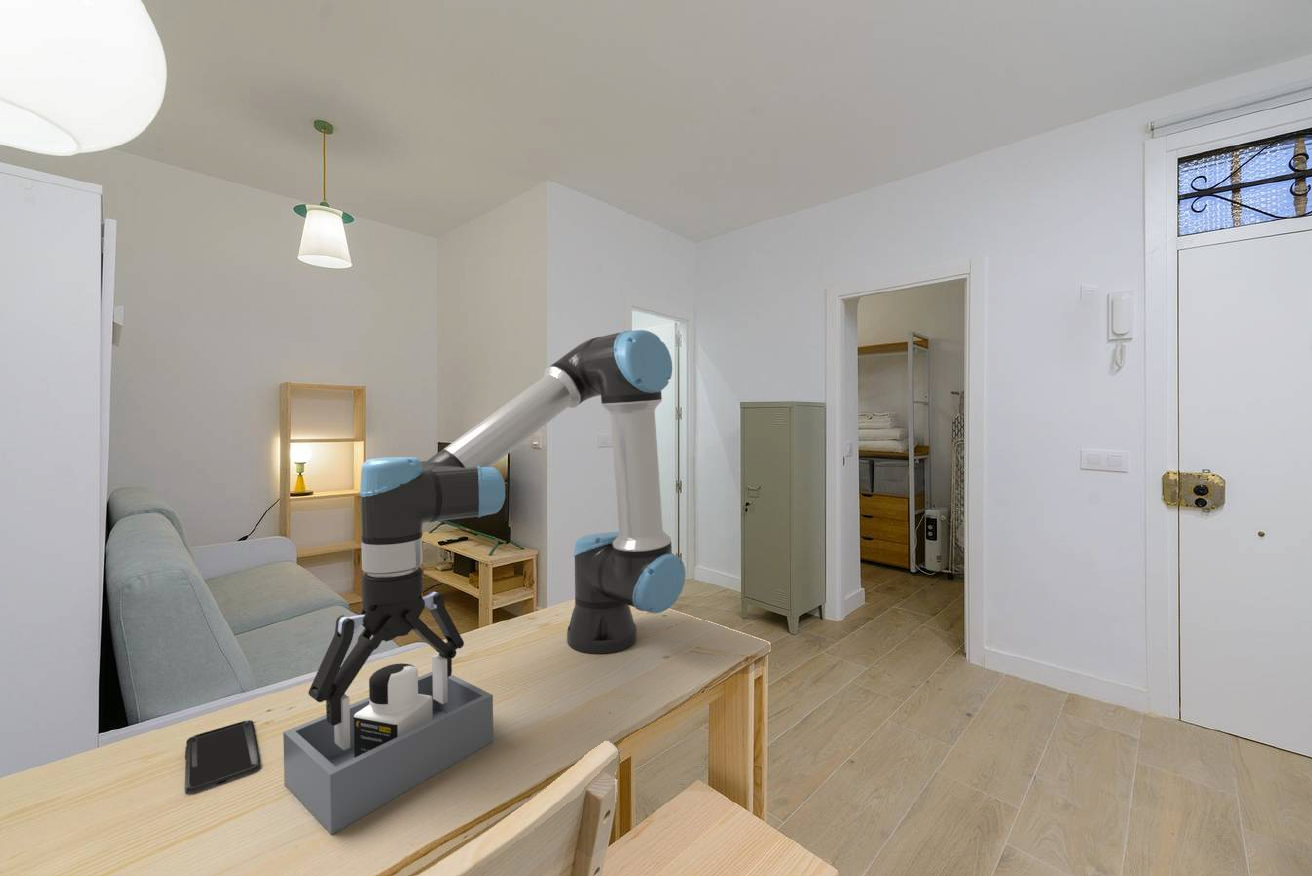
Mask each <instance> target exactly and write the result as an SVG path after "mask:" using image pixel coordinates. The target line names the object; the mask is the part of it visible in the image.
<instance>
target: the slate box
mask: <svg viewBox="0 0 1312 876" xmlns="http://www.w3.org/2000/svg"><path fill="white" fill-rule="evenodd" d="M418 694H423V695H430V696H432V710H433V720H432V721H430V722H428V723H425V724H423V725H421V726H419V727H417V728H415V729H413V730H411V731H409V732H407V733H405V734H403V735H401V736H399V737H397V738H395V739H392V740H390V741H388V742H386V743H384V744H382V745H380V746H378V747H376V748H374V749H372V750H370V751H368V752H366V753H364V754H362V755H359V756H357V757H355V758H354V715H355V714H356V713H357V712H359V711H360V710H362V709H363V708H365V707H366V706H368V705H369V697H367V698H364V699H362V700H360V701H356V702H354V703H351V704H350V748H348V749H346V750H343V749H341V748H340V747H339V746H338V745H337V744H335V740H334V726H332V725H331V724H330V723H329V722H328V721H327V719H326V715H327V714H324V715H321V716H319V717H317V718H315V719H312V720H310V721H307V722H305V723H302V724H300V725H297V726H295V727H293V728H290V729H287V730H285V731H283V734H282V735H283V737H282V739H283V778H284V779H283V780H284V786H285V787H286V789H288V790H289V791H290V792H291V794H292V795H293V796H294V797H295V798H296V799H297V800H298V802H300V803H301V804H302V806H303V807H304V808H305V809H306V810H307V811H308V812H309V813H310V814H311V815H312V816H313V817H314V818H315V819H316V820H317V822H318V823H319V824H320V825H321V826H322V827H323V828H324V829H325V830H326V831H327V832H328V833H329V834H330V835H331V836H332V835H334V834H335V833H337V832H339V831H341V830H342V829H344V828H345V827H347V826H349V825H351V824H352V823H354V822H356V821H358V820H360V819H361V818H364V817H365V816H367V815H368V814H369V813H371V812H373V811H375V810H376V809H379V808H381V807H382V806H384V805H385V804H387V803H389V802H391V801H393V800H394V799H396V798H397V797H400V796H401V795H403V794H405V793H406V792H408V791H410V790H411V789H413V788H415V787H417V786H419V785H420V784H423V783H424V782H425V781H427V780H429V779H431V778H432V777H434V776H436V775H437V774H440V773H441V772H442V771H444V770H447V769H449V768H450V767H451V766H453V765H455V764H457V763H459V762H460V761H462V760H463V759H466V758H467V757H469V756H470V755H473V754H474V753H476V752H478V751H479V750H481V749H483V748H484V747H487V746H488V745H490V744H492V743H493V742H494V695H493V694H492V693H489V692H487V691H486V690H484V689H481V688H480V687H478V686H475V685H474V684H473V683H472V684H471V683H470V682H468V681H466V680H464V679H461V678H460V677H458V676H455V675H454V674H452V673H451V676H449V677H447V694H448V702H447V703H445V704H441V703H440V702H438V701H436V700H434V699H433V671H429V672H427V673H426V674H423V675H420V676H418Z"/></svg>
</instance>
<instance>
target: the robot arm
mask: <svg viewBox="0 0 1312 876" xmlns="http://www.w3.org/2000/svg"><path fill="white" fill-rule="evenodd" d="M671 357H672V356H671V353H670V351H669V348H668V347H667V345H666V344H665V342H664V341H662V340H661V339H660V337H659V336H658V335H657V334H655V333H654V332H652V331H650V330H645V329H643V330H642V329H637V330H630V329H629V330H624V331H621V332H616V333H612V334H608V335H607V334H606V335H602V336H597V337H593V338H590V339H588V340H586V341H584V342H582V343H580V344H578V345H577V346H576V347H574V348H573V349H571V350H570V351H569V352H567V353H565V355H563V356H562V357H560V358H559V359H558V360H556V361H554V363H552V364H551V365H550V366H548V367H547V368H546V369H545V370H544V373H543V374H544V375H543V377H542V378H540V379H539V380H538V381H536V382H535V383H533V384H532V385H531V386H529V387H528V388H527V389H525V390H524V391H522V392H521V393H519V394H518V395H516V396H515V397H513V398H512V399H511V400H510V401H508V402H507V403H505V404H504V405H503V406H501V407H500V408H499V409H497V410H496V411H494V412H493V413H492V414H490V415H489V416H487V417H486V418H485V419H484V420H482V421H480V423H478V424H476V425H475V426H473V427H472V428H471V429H469V430H468V431H467V432H465V433H463V434H462V435H461V436H460V437H458V438H457V439H456V440H454V441H453V442H451V443H450V444H448V445H447V446H446V447H445V448H443V449H441V450H440V451H439V452H437V453H436V454H434V455H432V457H430V458H429V459H427V460H424V461H421V460H420V459H419V458H418V457H414V456H413V457H412V456H411V457H410V456H401V457H400V456H397V457H394V456H393V457H387V456H386V457H376V458H369V459H367V460H365V461H364V463H363V464H362V466H361V473H360V487H359V489H360V490H359V496H360V516H361V517H360V520H361V523H360V524H361V542H360V543H361V547H360V548H361V570H362V571H363V572H364V574H363V575H362V576H361V599H362V600H361V601H362V609H361V612H360V614H359V615H353V616H347V615H346V616H345V615H339V616H338V617H337V618H336V620H335V628H334V629H335V631H334V634H333V637H332V640H331V642H330V643H329V646H328V648H327V650H326V652H325V655H324V657H323V659H322V661H321V663H320V666H319V667H318V670H317V671H316V674H315V677H314V679H313V681H312V683H311V685H310V687H309V690H308V692H307V693H308V696H310V697H311V698H312V699H313V700H315V701H316V702H318V703H322V702H325V703H326V704H325V709H326V714H325V715H326V719H327V721H328V722H329V723H330V724H331V725H332V726H334V740H335V744H337V745H338V746H339V747H340V748H341V749H343V750H346V749H348V748H350V705H351V704H350V697H349V696H348V695H347V694H346V692H347V690H348V689H349V688H350V686H351V685H352V683H353V682H354V680H355V679H356V677H357V676H358V674H359V672H360V671H361V669H362V668H363V666H364V665H365V664H366V662H367V660H368V659H369V657H370V656H371V654H372V653H373V652H374V651H375V650H377V648H379V646H380V645H381V643H382V642H386V643H387V642H390V641H393V640H395V639H396V638H397V637H405V636H407V635H409V633H410V632H411V631H413V632H414V633H415V634H416V635H418V636H419V637H420V638H421V639H422V640H424V642H426V643H427V644H428V645H429V646H430V647H431V648H433V650H434V651H436V652H437V653H438V654H437V653H436V654H434V655H433V654H432V659H431V660H432V662H431V663H432V672H433V699H434V700H436V701H438V702H440V703H441V704H445V703H447V702H448V694H447V677H449V676H451V674H452V673H453V666H452V665H453V662H452V661H453V659H454V658H455V657H456V655H457V650H458V649H461V648H464V645H465V642H464V640H463V637H462V636H461V633H460V632H459V631H458V628H457V627H456V625H455V623H454V622H453V619H452V618H451V616H450V614H449V612H448V610H447V609H446V605H445V599H444V595H443V594H442V593H439V592H436V591H434V590H429V591H428V592H427V594H426V595H425V596H422V595H423V594H422V593H423V592H424V572H423V571H424V570H423V569H422V568H421V567H420V566H421V565H422V564H423V563H424V562H423V561H424V558H423V557H424V556H423V553H424V552H423V524H425V523H433V522H439V521H441V522H442V521H448V520H449V521H450V520H458V519H467V518H468V519H469V518H475V517H477V518H481V517H484V516H487V515H488V516H489V515H493V514H494V515H495V514H497V513H498V512H500V510H501V509H502V508H503V505H504V503H505V499H506V483H505V479H504V477H503V475H502V472H500V471H499V470H498V469H497V468H496V467H494V466H495V465H496V464H497V463H498V462H500V461H501V460H502V459H503V458H505V457H506V456H507V455H509V454H510V453H511V452H513V450H515V449H516V448H517V447H520V445H522V444H523V443H524V442H525V441H527V440H528V439H529V438H530V437H532V436H533V435H534V434H535V433H537V432H538V431H539V430H540V429H542V428H543V427H544V426H546V425H547V424H548V423H549V422H551V421H552V420H553V419H554V418H556V417H557V416H559V414H561V413H562V412H564V411H565V410H566V409H568V408H572V409H573V408H577V407H578V406H579V405H580V404H582V403H583V402H585V401H586V400H589V399H592V398H594V397H595V398H596V397H598V396H600V398H601V399H600V400H601V406H602V407H603V408H604V409H606V410H607V412H609V415H610V426H611V427H610V428H611V438H612V439H611V440H612V453H613V465H614V467H613V468H614V476H615V477H614V478H615V481H614V482H615V493H616V494H615V495H616V506H617V518H618V519H617V520H618V531H607V532H600V533H599V532H598V533H593V534H592V533H591V534H586V535H583V536H580V537H578V538H577V540H576V541H575V547H574V554H573V557H574V596H575V597H574V608H573V610H572V614H571V618H570V621H569V622H570V623H569V625H568V627H567V631H566V643H567V644H568V646H569V647H570V648H572V649H573V650H575V651H578V652H582V653H587V654H610V653H616V652H620V651H623V650H626V649H627V648H628V649H629V648H630V647H631V646H633V645H634V644H635V643H636V641H637V637H638V635H637V634H638V633H637V632H638V630H637V625H636V623H635V621H634V618H633V617H634V616H633V614H632V610H631V607H633V608H635V609H636V610H637V611H640V612H647V613H650V614H661V613H663V612H665V611H667V610H668V609H669V608H671V607H672V606H673V605H674V604H675V603H676V602H677V600H678V598H679V596H680V595H681V594H682V592H683V590H684V586H685V582H686V577H687V576H686V572H687V571H686V567H685V563H684V562H683V560H681V559H680V556H679V557H678V555H677V554H674V553H673V549H672V547H673V546H672V538H671V537H670V536H669V534H667V533H666V532H665V531H664V529H663V516H662V515H663V514H662V501H661V499H662V498H661V484H660V483H661V481H660V472H659V469H660V468H659V458H658V457H659V454H658V442H657V441H658V440H657V426H656V425H657V423H656V408H657V407H658V406H659V405H660V403H662V401H663V399H662V391H663V389H665V388H666V387H667V386H668V385H669V380H671V378H672V374H673V361H672V358H671ZM630 606H631V607H630ZM425 608H426V609H428V610H429V612H430V614H431V615H432V617H433V619H434V621H435V622H436V624H437V626H438V628H439V629H440V631H441V633H442V635H443V637H444V639H445V640H446V642H445V641H444V640H443V639H442V638H441V637H440V636H439V635H437V634H436V633H435V632H434V631H433V630H432V629H430V627H428V625H427V624H426V623H425V622H424V621H423V620H422V619H421V618H420V617H421V614H422V613H423V611H424V609H425ZM360 626H362V627H364V629H363V630H362V632H360V635H359V636H358V638H357V642H356V643H355V645H354V647H353V648H352V650H351V651H350V652H349V654H348V655H347V653H348V651H349V648H350V646H351V644H352V641H353V638H354V635H355V634H356V633H358V631H359V630H358V629H359V627H360ZM346 655H347V657H346ZM345 657H346V658H345ZM344 659H345V660H344Z"/></svg>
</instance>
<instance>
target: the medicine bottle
mask: <svg viewBox="0 0 1312 876" xmlns="http://www.w3.org/2000/svg"><path fill="white" fill-rule="evenodd" d="M418 673H419V670H418V669H417V667H416V666H414V665H413V664H410V663H403V662H402V663H393V664H390V665H386V666H383V667H382V668H379V669H378V670H376V671H374V672H373V673H372V674H371V676H370V677H369V680H368V696H369V697H368V698H369V705H368V706H366V707H365V708H363V709H362V710H360V711H359V712H357V713H356V714H355V715H354V758H355V757H357V756H359V755H362V754H364V753H366V752H368V751H370V750H372V749H374V748H376V747H378V746H380V745H382V744H384V743H386V742H388V741H390V740H392V739H395V738H397V737H399V736H401V735H403V734H405V733H407V732H409V731H411V730H413V729H415V728H417V727H419V726H421V725H423V724H425V723H428V722H430V721H432V720H433V710H432V696H430V695H423V694H418V677H419V675H418Z"/></svg>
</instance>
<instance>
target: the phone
mask: <svg viewBox="0 0 1312 876" xmlns="http://www.w3.org/2000/svg"><path fill="white" fill-rule="evenodd" d="M185 744H186V745H185V750H184V759H185V767H184V768H185V769H184V770H185V771H184V794H185V795H188V796H189V795H195V794H199V793H202V792H204V791H206V790H207V791H208V790H209V789H212V788H215V787H218V786H222V785H224V784H226V783H229V782H232V781H235V780H240V779H241V778H244V777H247V776H250V775H253V774H255V773H257V772H258V771H259V770H260V769H261V756H260V751H259V744H258V739H257V735H256V730H255V723H254V721H253V720H250V719H248V720H243V721H239V722H236V723H233V724H229V725H226V726H223V727H219V728H215V729H212V730H209V731H204V732H201V733H198V734H195V735H192V736H190V737H189V738H187V740H186V743H185Z"/></svg>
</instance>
